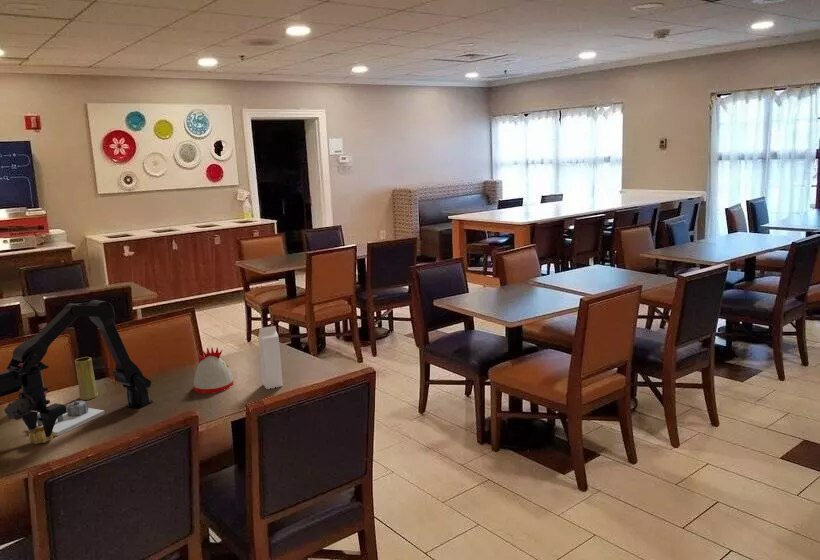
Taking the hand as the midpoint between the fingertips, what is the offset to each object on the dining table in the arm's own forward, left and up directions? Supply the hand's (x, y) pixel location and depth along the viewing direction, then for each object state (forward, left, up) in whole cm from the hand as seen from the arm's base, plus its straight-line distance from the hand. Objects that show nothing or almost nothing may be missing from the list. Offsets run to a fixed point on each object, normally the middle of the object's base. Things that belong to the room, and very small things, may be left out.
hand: (41, 435), depth 195 cm
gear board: (+6, -13, -2) cm, 15 cm away
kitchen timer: (-20, -54, -2) cm, 58 cm away
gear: (0, 0, -1) cm, 1 cm away
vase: (+18, -32, -2) cm, 37 cm away
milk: (-41, -61, -2) cm, 74 cm away
